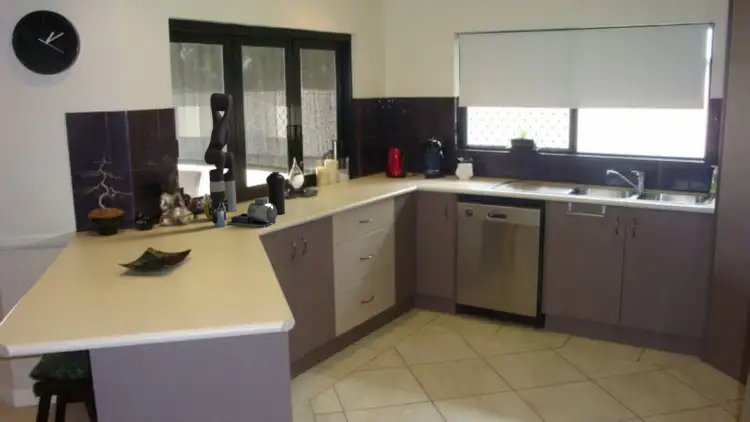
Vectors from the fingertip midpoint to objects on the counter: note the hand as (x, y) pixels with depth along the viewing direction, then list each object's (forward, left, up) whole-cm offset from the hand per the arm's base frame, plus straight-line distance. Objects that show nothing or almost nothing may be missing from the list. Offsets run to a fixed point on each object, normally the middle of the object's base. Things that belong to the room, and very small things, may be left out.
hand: (219, 221), depth 358 cm
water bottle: (+12, +37, -3) cm, 39 cm away
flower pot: (-13, +14, -3) cm, 19 cm away
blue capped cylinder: (0, 0, -2) cm, 2 cm away
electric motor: (+13, +11, -2) cm, 17 cm away
